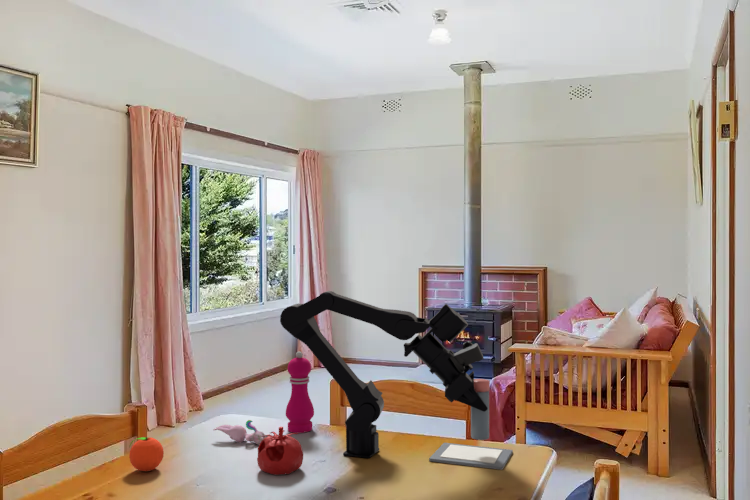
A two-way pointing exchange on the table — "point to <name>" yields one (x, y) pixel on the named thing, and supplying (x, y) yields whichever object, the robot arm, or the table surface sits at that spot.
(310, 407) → the pepper mill
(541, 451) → the table surface
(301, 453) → the red round fruit
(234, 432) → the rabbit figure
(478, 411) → the cylinder
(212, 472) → the table surface
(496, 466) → the writing board
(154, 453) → the clementine
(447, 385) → the robot arm
